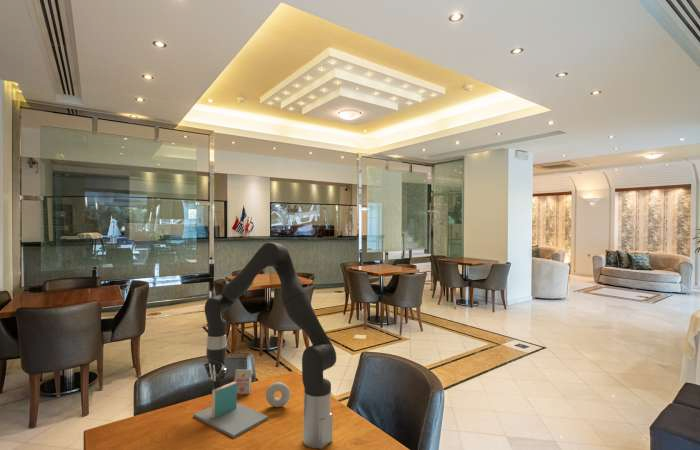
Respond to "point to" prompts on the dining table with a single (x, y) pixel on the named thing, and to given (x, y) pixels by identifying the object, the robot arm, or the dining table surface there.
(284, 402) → the donut
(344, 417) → the dining table surface
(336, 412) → the dining table surface
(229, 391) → the tile
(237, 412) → the board
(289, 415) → the dining table surface
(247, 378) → the white printed carton
